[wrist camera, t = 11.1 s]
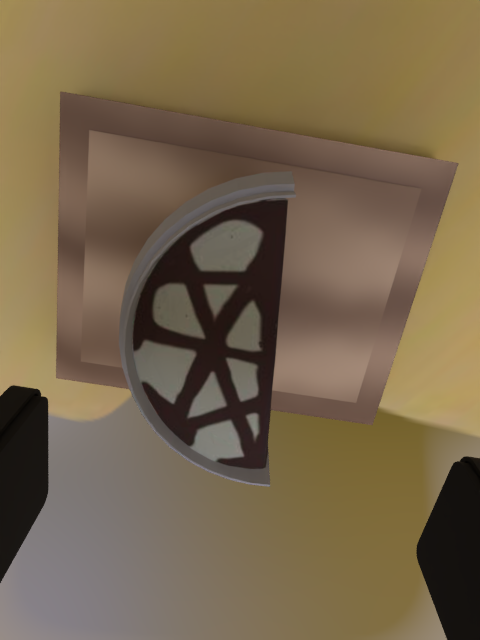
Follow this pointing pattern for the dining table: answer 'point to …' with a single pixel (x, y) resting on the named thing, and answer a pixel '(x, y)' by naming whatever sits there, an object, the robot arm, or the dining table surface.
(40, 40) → the dining table surface
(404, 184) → the board
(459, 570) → the robot arm
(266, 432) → the food container
